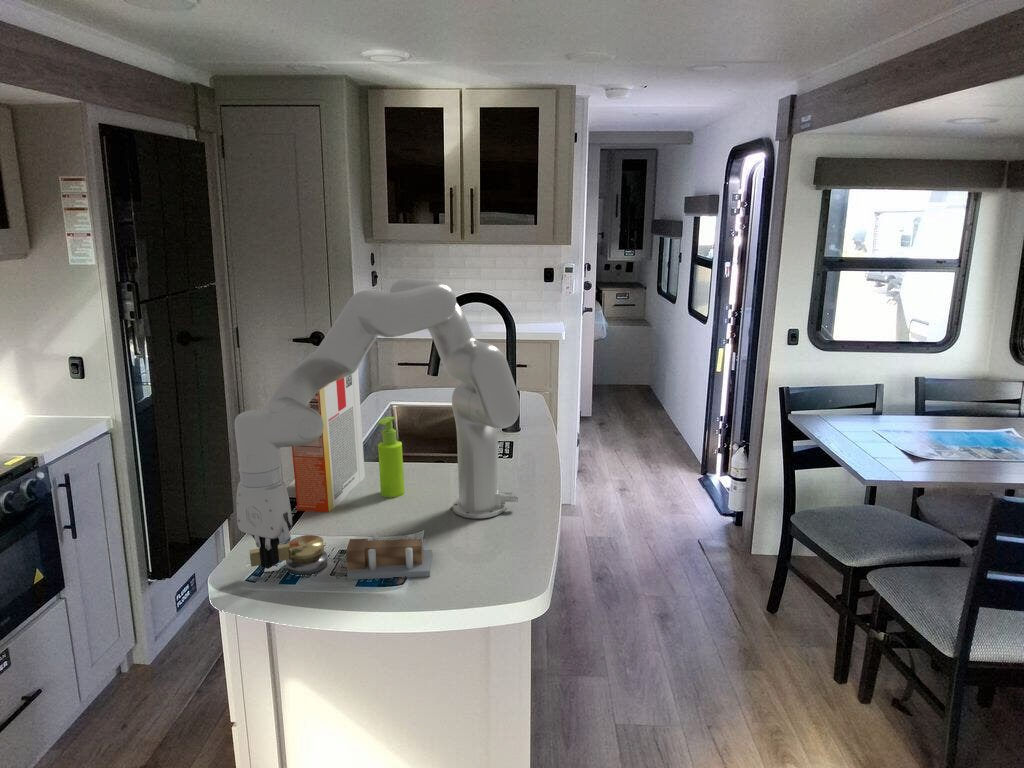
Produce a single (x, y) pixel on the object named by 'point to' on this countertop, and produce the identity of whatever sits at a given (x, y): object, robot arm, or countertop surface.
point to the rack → (393, 566)
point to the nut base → (304, 566)
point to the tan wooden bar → (382, 552)
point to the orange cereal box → (331, 448)
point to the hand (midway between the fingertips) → (270, 564)
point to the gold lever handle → (295, 550)
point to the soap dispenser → (390, 461)
